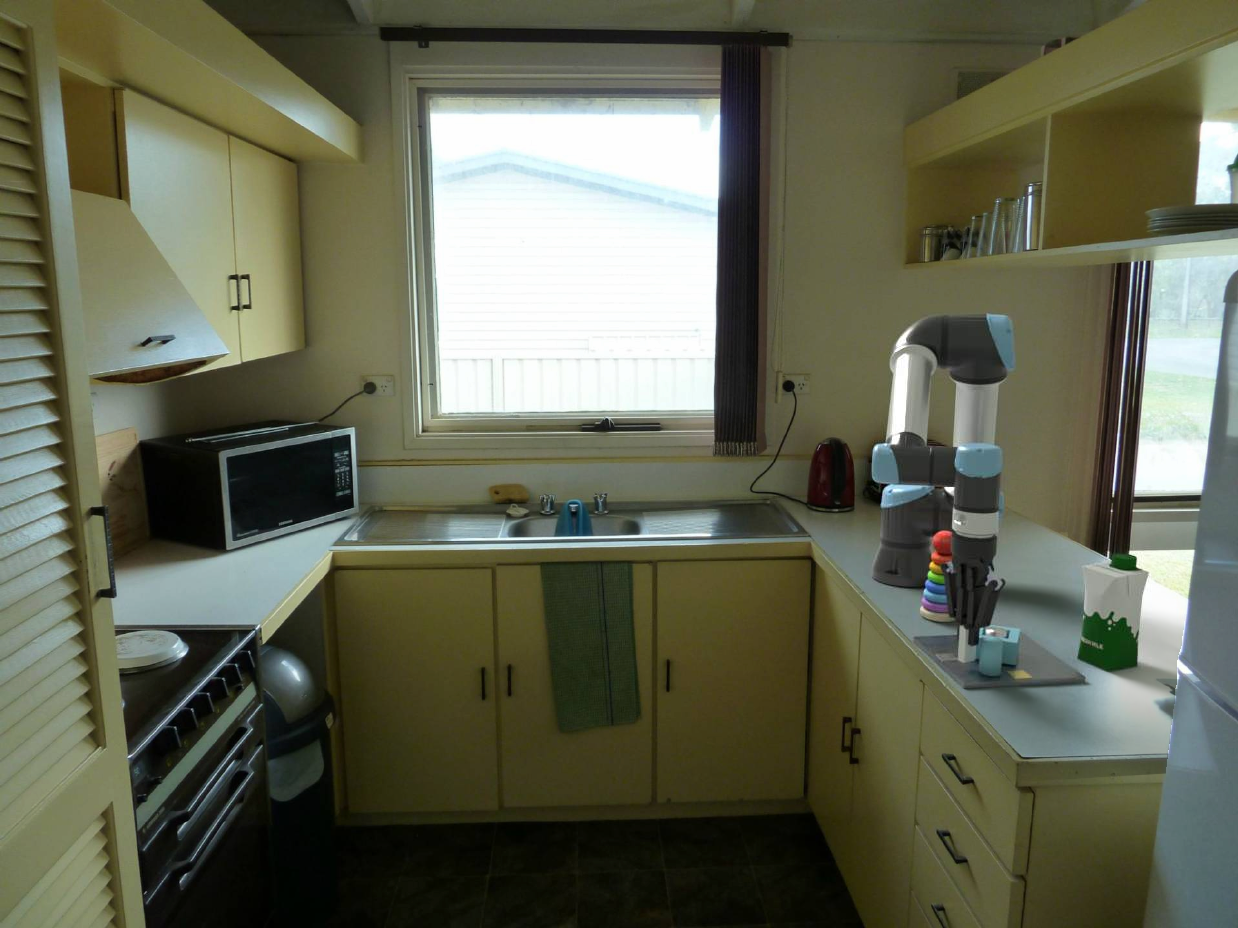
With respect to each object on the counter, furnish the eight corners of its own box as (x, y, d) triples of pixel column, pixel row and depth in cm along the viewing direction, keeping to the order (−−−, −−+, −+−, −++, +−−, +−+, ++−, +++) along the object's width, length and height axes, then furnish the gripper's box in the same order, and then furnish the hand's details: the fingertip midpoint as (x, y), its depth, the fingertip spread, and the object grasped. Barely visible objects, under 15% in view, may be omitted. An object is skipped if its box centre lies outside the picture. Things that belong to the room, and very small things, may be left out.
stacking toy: (921, 621, 191) (925, 534, 187) (918, 609, 198) (922, 525, 195) (961, 624, 189) (966, 536, 186) (956, 611, 197) (961, 526, 193)
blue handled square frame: (965, 671, 162) (967, 639, 161) (974, 643, 175) (976, 613, 174) (1013, 679, 159) (1015, 646, 158) (1018, 650, 172) (1020, 619, 170)
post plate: (913, 641, 180) (914, 612, 179) (1020, 636, 182) (1022, 607, 181) (963, 688, 158) (965, 655, 157) (1085, 682, 160) (1087, 649, 159)
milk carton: (1145, 667, 166) (1155, 561, 163) (1108, 674, 163) (1117, 566, 160) (1105, 650, 174) (1113, 548, 171) (1068, 657, 171) (1076, 554, 168)
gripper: (930, 526, 164) (924, 651, 168) (987, 543, 152) (978, 677, 157) (962, 522, 167) (955, 644, 171) (1020, 538, 156) (1010, 669, 160)
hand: (966, 660), depth 164 cm, fingers closed
